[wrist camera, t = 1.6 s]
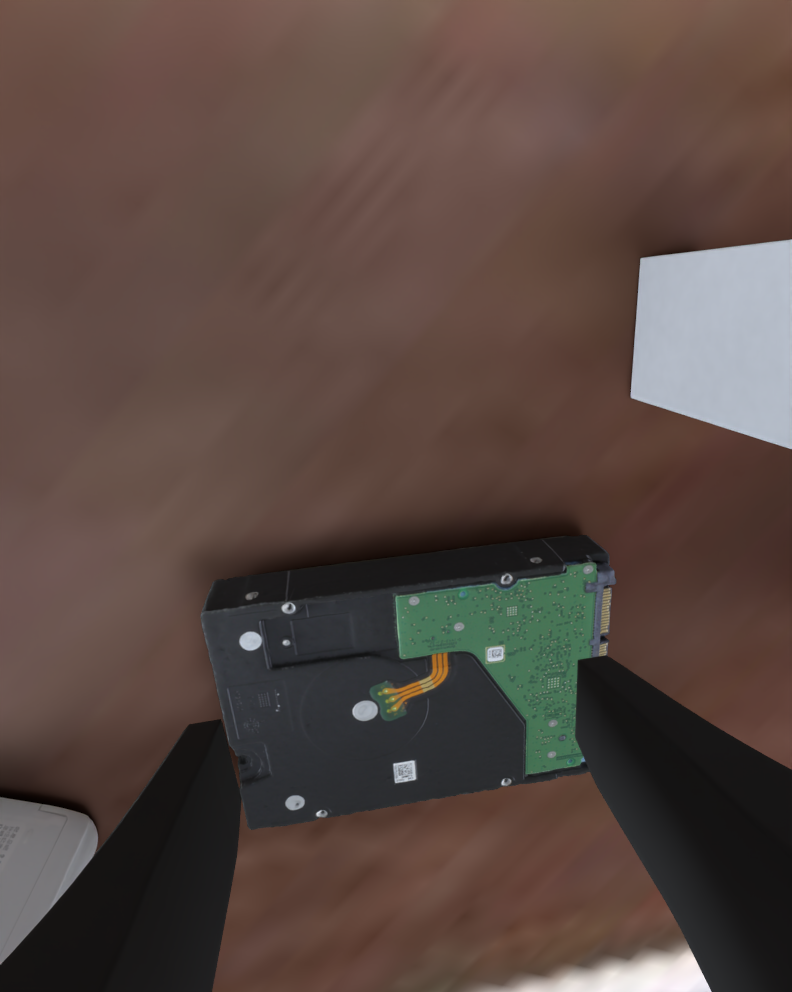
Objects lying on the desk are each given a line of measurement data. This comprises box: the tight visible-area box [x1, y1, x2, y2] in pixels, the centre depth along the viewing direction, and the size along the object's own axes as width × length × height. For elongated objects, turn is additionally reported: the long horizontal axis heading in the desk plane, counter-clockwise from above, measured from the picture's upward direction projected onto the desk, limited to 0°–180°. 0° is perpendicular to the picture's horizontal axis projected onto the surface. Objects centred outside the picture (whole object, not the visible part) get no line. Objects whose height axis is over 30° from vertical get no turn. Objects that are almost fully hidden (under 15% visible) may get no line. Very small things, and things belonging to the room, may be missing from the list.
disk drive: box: [201, 535, 616, 830], centre depth 22 cm, size 10×3×15 cm
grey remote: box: [631, 239, 792, 449], centre depth 15 cm, size 2×5×9 cm, turn 5°
